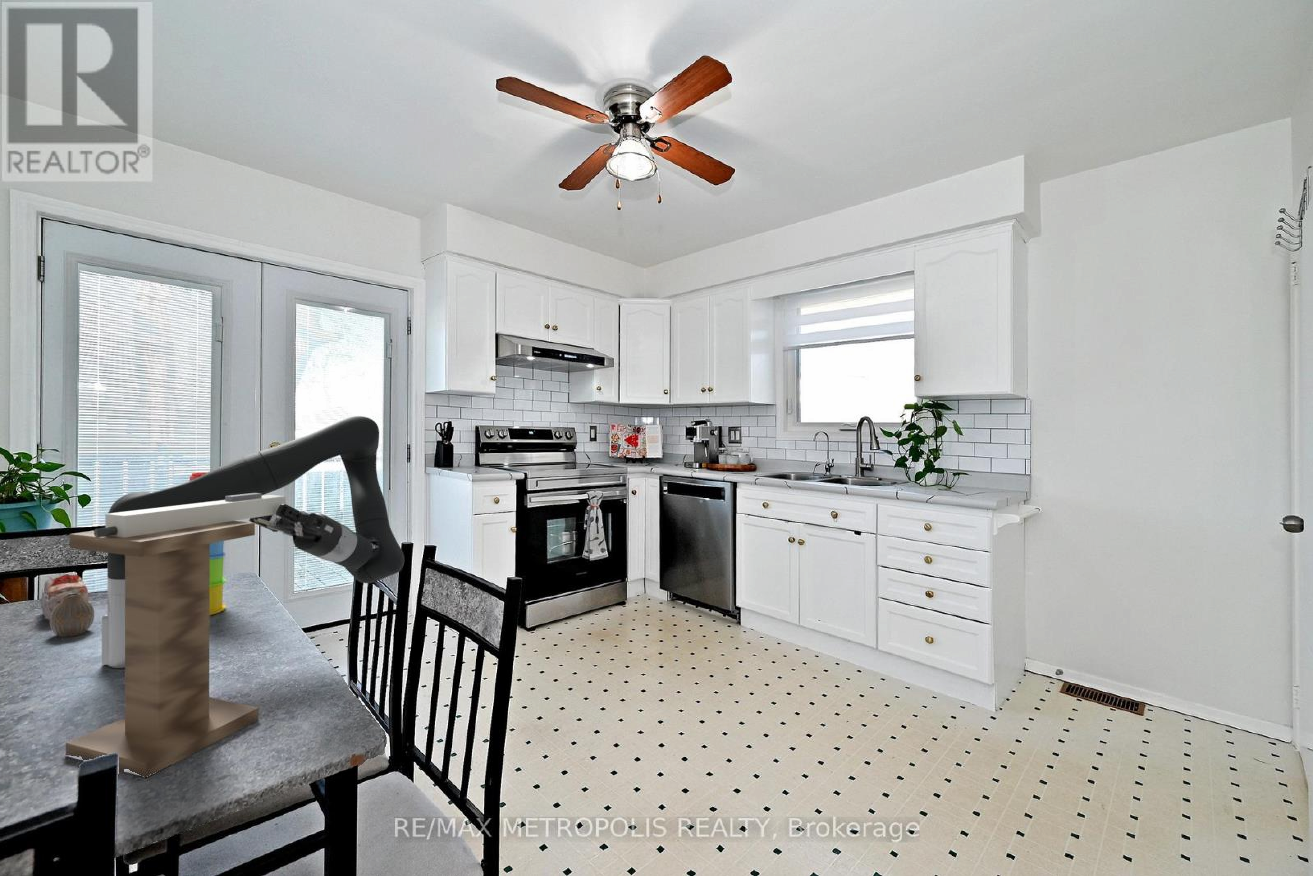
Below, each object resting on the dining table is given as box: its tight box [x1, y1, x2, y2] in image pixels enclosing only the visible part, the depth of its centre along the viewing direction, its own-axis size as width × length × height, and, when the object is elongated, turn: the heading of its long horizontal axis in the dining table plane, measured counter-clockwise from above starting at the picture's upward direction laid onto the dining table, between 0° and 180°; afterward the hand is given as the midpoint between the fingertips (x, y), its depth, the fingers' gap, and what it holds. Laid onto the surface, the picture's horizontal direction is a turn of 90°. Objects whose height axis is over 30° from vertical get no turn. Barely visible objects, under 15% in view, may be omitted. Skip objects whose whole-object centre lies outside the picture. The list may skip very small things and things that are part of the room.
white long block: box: [93, 493, 287, 538], centre depth 90 cm, size 26×4×4 cm, turn 162°
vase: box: [49, 593, 95, 638], centre depth 126 cm, size 7×7×9 cm
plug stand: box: [65, 520, 259, 777], centre depth 86 cm, size 16×16×32 cm
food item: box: [40, 573, 89, 622], centre depth 137 cm, size 14×8×10 cm, turn 52°
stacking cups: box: [189, 472, 227, 616], centre depth 140 cm, size 10×10×35 cm
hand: (260, 507), depth 100 cm, fingers open, 8 cm apart
